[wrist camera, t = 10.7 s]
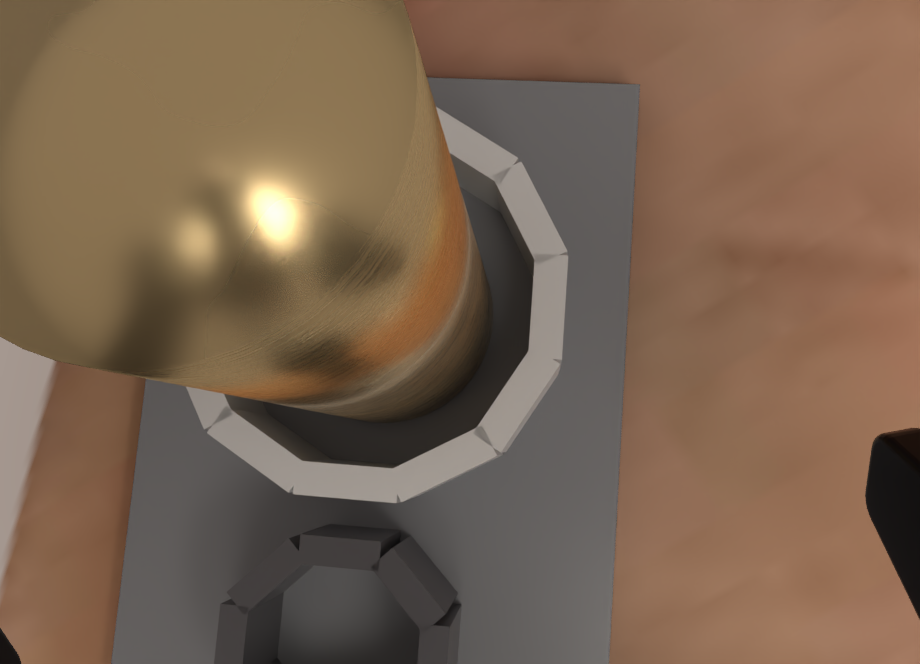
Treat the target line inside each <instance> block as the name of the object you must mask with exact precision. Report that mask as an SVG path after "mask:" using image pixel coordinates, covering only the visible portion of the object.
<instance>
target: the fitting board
mask: <svg viewBox="0 0 920 664" xmlns="http://www.w3.org/2000/svg"><path fill="white" fill-rule="evenodd" d="M427 79H428V83H429V86H430V89H431V93H432V96H433V99H434V103H435V106H436V109H437V113H438V116H439V119H440V123H441V126H442V129H443V133H444V136H445V139H446V143H447V146H448V149H449V153H450V156H451V159H452V163H453V166H454V169H455V173H456V176H457V179H458V183H459V186H460V189H461V193H462V196H463V199H464V203H465V206H466V209H467V213H468V216H469V219H470V223H471V226H472V229H473V233H474V236H475V239H476V243H477V246H478V249H479V253H480V256H481V259H482V263H483V266H484V269H485V273H486V276H487V279H488V283H489V286H490V291H491V296H492V302H493V326H492V333H491V338H490V342H489V345H488V348H487V351H486V354H485V357H484V359H483V361H482V363H481V365H480V367H479V369H478V370H477V372H476V373H475V374H474V376H473V377H472V379H471V380H470V382H469V383H468V384H467V385H466V386H465V387H464V388H463V389H462V391H461V392H459V393H458V394H457V395H456V396H455V397H454V398H453V399H451V400H450V401H449V402H447V403H446V404H444V405H443V406H441V407H440V408H438V409H436V410H434V411H432V412H430V413H428V414H426V415H424V416H421V417H418V418H415V419H412V420H407V421H402V422H394V423H375V422H366V421H361V420H356V419H351V418H346V417H341V416H336V415H330V414H325V413H320V412H315V411H310V410H305V409H300V408H294V407H289V406H284V405H279V404H274V403H269V402H263V401H258V400H253V399H248V398H243V397H238V396H233V395H227V394H222V393H217V392H212V391H207V390H202V389H197V388H191V387H186V386H181V385H176V384H171V383H166V382H161V381H155V380H150V379H146V382H145V391H144V399H143V407H142V415H141V423H140V432H139V440H138V448H137V456H136V464H135V473H134V481H133V489H132V497H131V505H130V514H129V522H128V530H127V538H126V546H125V555H124V563H123V571H122V579H121V587H120V596H119V604H118V612H117V620H116V628H115V636H114V645H113V653H112V661H111V664H609V653H610V634H611V615H612V597H613V578H614V559H615V541H616V522H617V503H618V485H619V466H620V447H621V429H622V410H623V391H624V373H625V354H626V335H627V317H628V298H629V279H630V261H631V242H632V223H633V205H634V186H635V167H636V149H637V130H638V111H639V93H640V85H639V84H609V83H579V82H548V81H518V80H488V79H457V78H427Z"/></svg>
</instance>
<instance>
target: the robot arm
mask: <svg viewBox="0 0 920 664" xmlns="http://www.w3.org/2000/svg"><path fill="white" fill-rule="evenodd" d="M865 497H866V505H867V509H868V512H869V515H870V518H871V520H872V522H873V524H874V526H875V528H876V530H877V532H878V534H879V536H880V539H881V541H882V543H883V545H884V547H885V549H886V551H887V553H888V555H889V557H890V559H891V561H892V563H893V565H894V568H895V570H896V572H897V574H898V576H899V578H900V580H901V582H902V584H903V586H904V588H905V590H906V592H907V594H908V596H909V599H910V601H911V603H912V605H913V607H914V609H915V611H916V613H917V615H918V617H919V619H920V429H919V428H909V429H904V430H898V431H893V432H888V433H883V434H880V435H879V436H877V437H876V438H875V440H874V442H873V445H872V450H871V457H870V464H869V471H868V478H867V485H866V495H865ZM0 664H21V661H20V658H19V656H18V654H17V652H16V651H15V649H14V648H13V646H12V645H11V643H10V642H9V640H8V639H7V637H6V636H5V634H4V633H3V631H2V630H1V628H0Z"/></svg>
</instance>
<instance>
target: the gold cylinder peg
mask: <svg viewBox="0 0 920 664" xmlns="http://www.w3.org/2000/svg"><path fill="white" fill-rule="evenodd" d="M492 326H493V302H492V296H491V291H490V286H489V283H488V279H487V276H486V273H485V269H484V266H483V263H482V259H481V256H480V253H479V249H478V246H477V243H476V239H475V236H474V233H473V229H472V226H471V223H470V219H469V216H468V213H467V209H466V206H465V203H464V199H463V196H462V193H461V189H460V186H459V183H458V179H457V176H456V173H455V169H454V166H453V163H452V159H451V156H450V153H449V149H448V146H447V143H446V139H445V136H444V133H443V129H442V126H441V123H440V119H439V116H438V113H437V109H436V106H435V103H434V99H433V96H432V93H431V89H430V86H429V83H428V79H427V76H426V72H425V69H424V66H423V62H422V59H421V56H420V52H419V49H418V46H417V42H416V39H415V36H414V32H413V29H412V26H411V22H410V19H409V16H408V13H407V10H406V7H405V4H404V2H403V0H0V337H2V338H4V339H6V340H8V341H9V342H11V343H13V344H15V345H17V346H19V347H21V348H22V349H25V350H28V351H31V352H33V353H36V354H39V355H42V356H44V357H47V358H50V359H53V360H55V361H60V362H65V363H69V364H74V365H79V366H84V367H89V368H94V369H99V370H104V371H109V372H114V373H119V374H125V375H130V376H135V377H140V378H145V379H150V380H155V381H161V382H166V383H171V384H176V385H181V386H186V387H191V388H197V389H202V390H207V391H212V392H217V393H222V394H227V395H233V396H238V397H243V398H248V399H253V400H258V401H263V402H269V403H274V404H279V405H284V406H289V407H294V408H300V409H305V410H310V411H315V412H320V413H325V414H330V415H336V416H341V417H346V418H351V419H356V420H361V421H366V422H375V423H394V422H402V421H407V420H412V419H415V418H418V417H421V416H424V415H426V414H428V413H430V412H432V411H434V410H436V409H438V408H440V407H441V406H443V405H444V404H446V403H447V402H449V401H450V400H451V399H453V398H454V397H455V396H456V395H457V394H458V393H459V392H461V391H462V389H463V388H464V387H465V386H466V385H467V384H468V383H469V382H470V380H471V379H472V377H473V376H474V374H475V373H476V372H477V370H478V369H479V367H480V365H481V363H482V361H483V359H484V357H485V354H486V351H487V348H488V345H489V342H490V338H491V333H492Z"/></svg>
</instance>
